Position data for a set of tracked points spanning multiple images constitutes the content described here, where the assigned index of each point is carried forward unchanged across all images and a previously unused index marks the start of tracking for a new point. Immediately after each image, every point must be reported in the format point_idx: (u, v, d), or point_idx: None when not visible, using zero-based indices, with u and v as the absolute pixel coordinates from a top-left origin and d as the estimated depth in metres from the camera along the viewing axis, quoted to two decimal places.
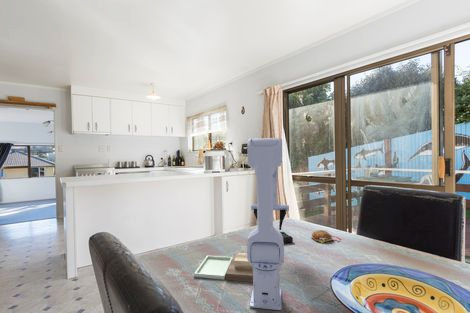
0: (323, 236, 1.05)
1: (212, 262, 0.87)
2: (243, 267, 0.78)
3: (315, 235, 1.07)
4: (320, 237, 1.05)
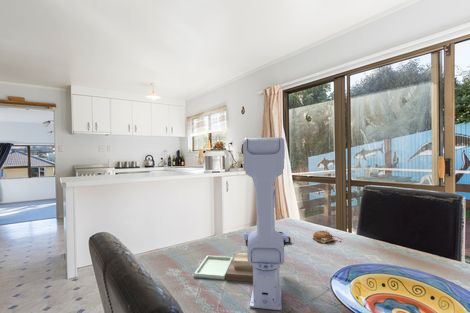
0: (324, 236, 1.05)
1: (212, 262, 0.87)
2: (243, 267, 0.78)
3: (316, 235, 1.07)
4: (321, 237, 1.05)
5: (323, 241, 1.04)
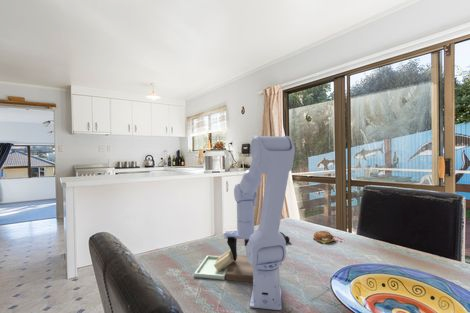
0: (325, 237, 1.05)
1: (212, 262, 0.87)
2: (224, 266, 0.79)
3: (317, 236, 1.06)
4: (322, 238, 1.05)
5: (324, 241, 1.04)
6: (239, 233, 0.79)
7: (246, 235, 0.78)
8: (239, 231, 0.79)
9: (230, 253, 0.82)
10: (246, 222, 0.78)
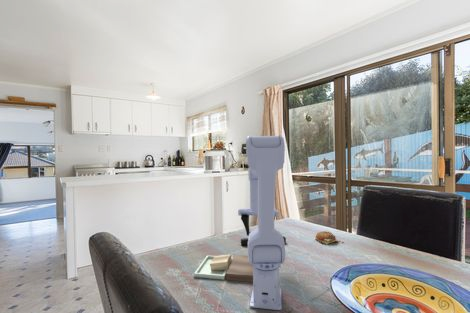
0: (328, 237, 1.04)
1: None
2: (219, 269, 0.80)
3: (319, 236, 1.05)
4: (325, 238, 1.04)
5: (326, 242, 1.03)
6: (252, 210, 0.86)
7: None
8: (252, 208, 0.86)
9: (229, 259, 0.82)
10: None
